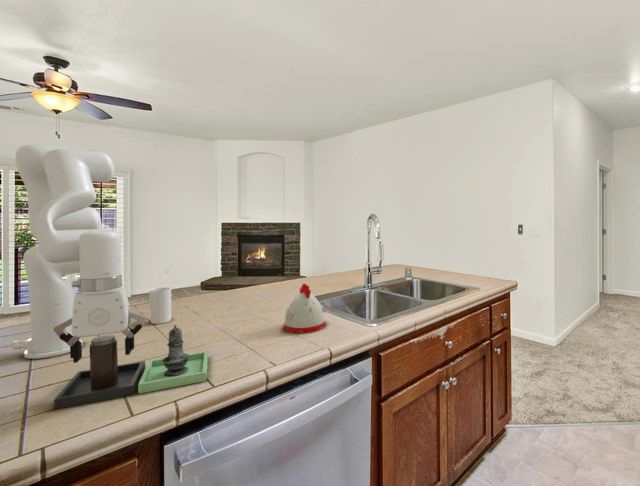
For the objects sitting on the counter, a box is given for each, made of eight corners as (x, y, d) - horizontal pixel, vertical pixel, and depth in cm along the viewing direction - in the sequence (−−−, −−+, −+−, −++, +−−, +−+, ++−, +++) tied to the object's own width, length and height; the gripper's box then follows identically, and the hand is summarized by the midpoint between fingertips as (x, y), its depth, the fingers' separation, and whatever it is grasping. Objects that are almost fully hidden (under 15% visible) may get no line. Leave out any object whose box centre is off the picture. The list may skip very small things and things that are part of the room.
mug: (172, 321, 134) (172, 289, 134) (150, 325, 130) (150, 292, 130) (169, 315, 142) (168, 284, 142) (148, 318, 138) (147, 287, 138)
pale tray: (138, 393, 83) (138, 384, 83) (149, 368, 96) (149, 360, 96) (206, 380, 89) (205, 372, 89) (207, 358, 102) (207, 351, 102)
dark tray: (54, 409, 76) (53, 399, 76) (78, 379, 89) (78, 371, 89) (133, 394, 82) (133, 385, 82) (145, 368, 95) (145, 360, 95)
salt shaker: (194, 366, 95) (193, 321, 95) (181, 377, 89) (180, 328, 89) (171, 366, 95) (170, 321, 95) (157, 377, 89) (155, 329, 89)
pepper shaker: (87, 391, 82) (86, 343, 82) (94, 382, 87) (93, 336, 86) (115, 386, 85) (113, 340, 84) (120, 377, 89) (119, 333, 89)
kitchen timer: (292, 335, 120) (292, 290, 119) (279, 324, 131) (278, 283, 130) (331, 327, 128) (331, 284, 127) (315, 317, 139) (315, 278, 138)
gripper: (45, 291, 78) (48, 370, 78) (143, 283, 85) (145, 355, 86) (59, 284, 85) (61, 357, 85) (149, 278, 92) (150, 345, 93)
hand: (103, 356), depth 86 cm, fingers open, 9 cm apart
